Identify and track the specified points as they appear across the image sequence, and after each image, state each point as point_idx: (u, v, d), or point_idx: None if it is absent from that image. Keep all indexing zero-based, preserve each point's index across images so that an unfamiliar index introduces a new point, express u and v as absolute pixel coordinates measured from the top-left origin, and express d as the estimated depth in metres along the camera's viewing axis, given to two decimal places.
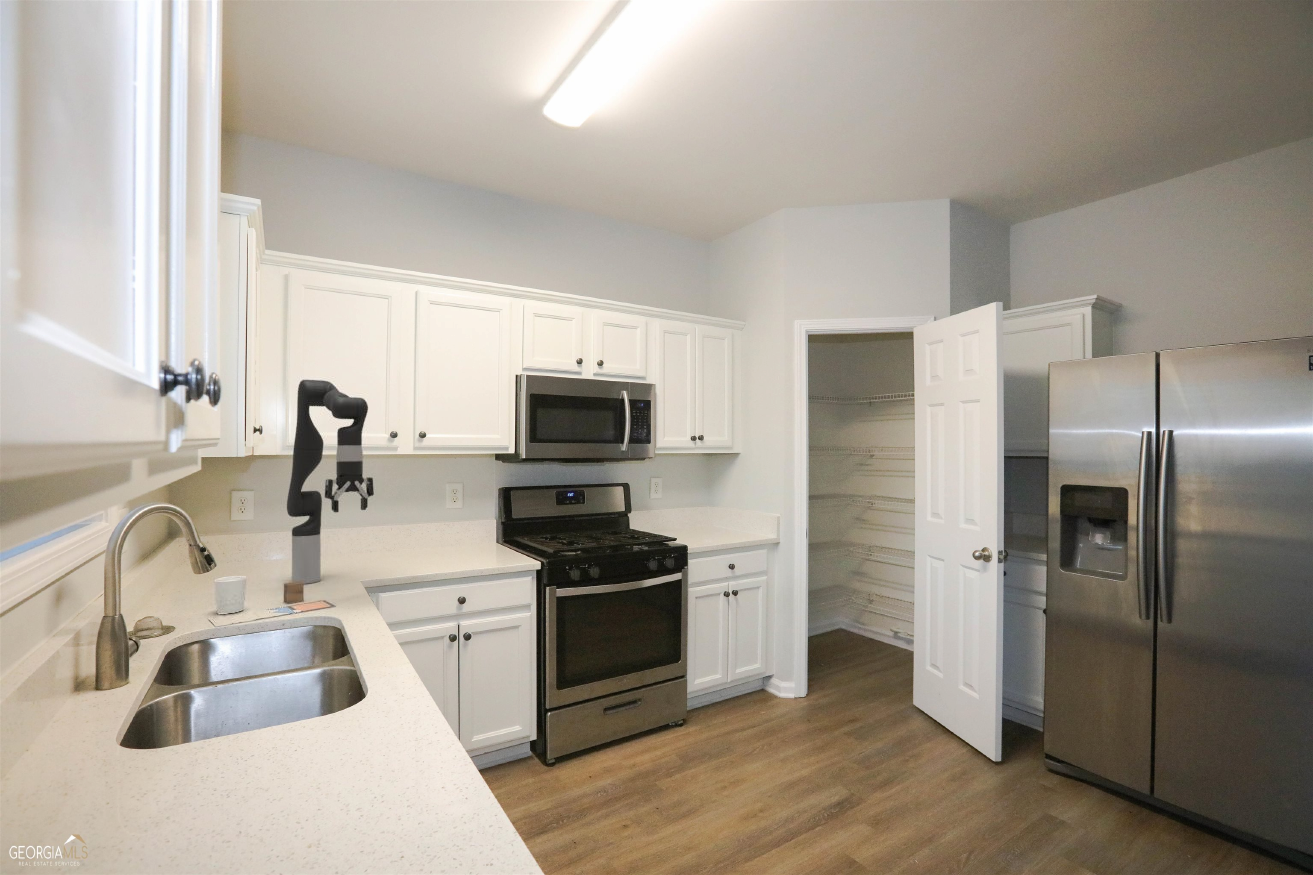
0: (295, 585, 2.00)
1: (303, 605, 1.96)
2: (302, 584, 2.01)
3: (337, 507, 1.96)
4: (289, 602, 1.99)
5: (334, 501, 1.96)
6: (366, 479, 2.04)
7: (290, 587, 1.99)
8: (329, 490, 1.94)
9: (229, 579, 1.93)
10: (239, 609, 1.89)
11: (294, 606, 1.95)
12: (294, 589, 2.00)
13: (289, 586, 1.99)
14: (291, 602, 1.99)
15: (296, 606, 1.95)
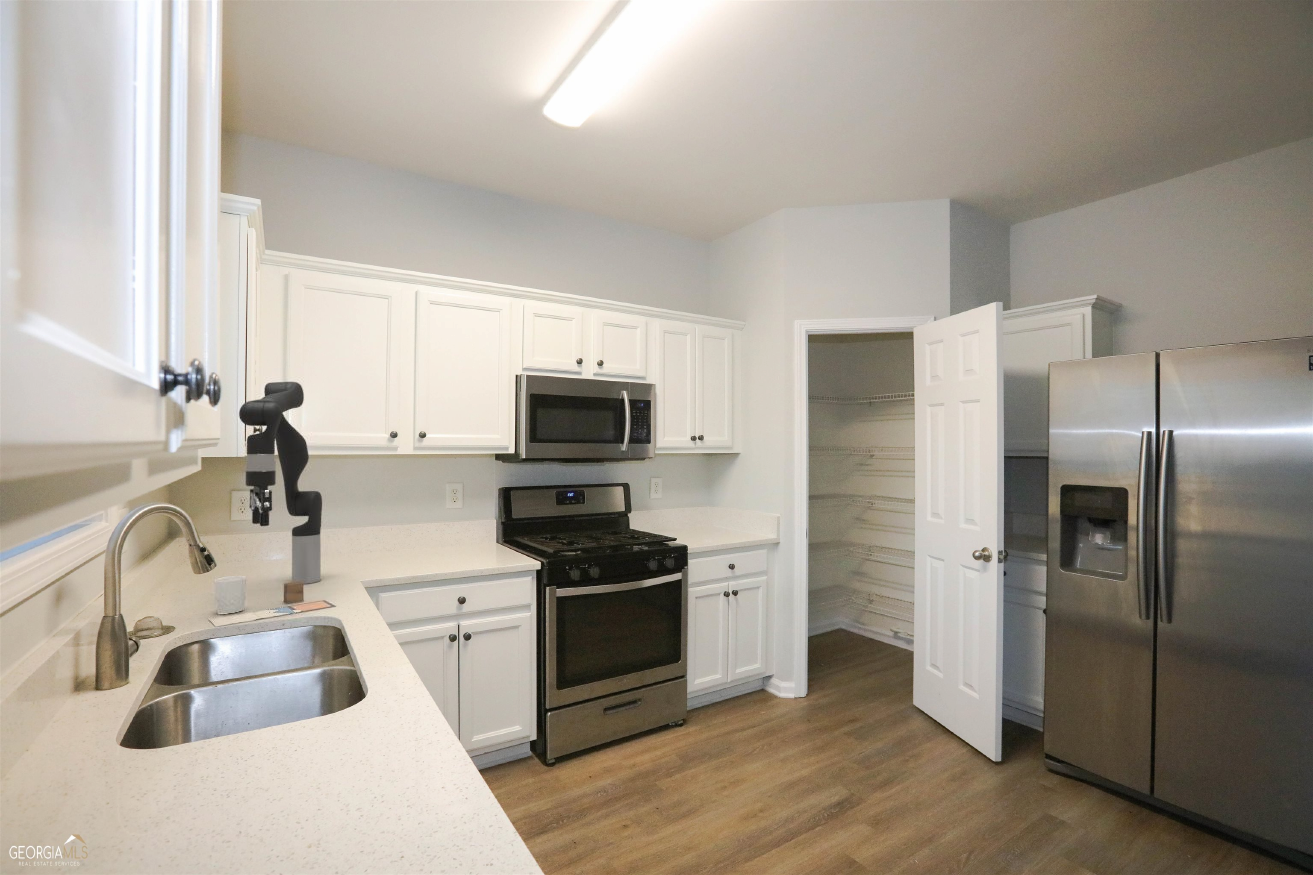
0: (295, 585, 2.00)
1: (303, 605, 1.96)
2: (302, 584, 2.01)
3: None
4: (289, 602, 1.99)
5: None
6: None
7: (290, 587, 1.99)
8: None
9: (229, 579, 1.93)
10: (239, 609, 1.89)
11: (294, 606, 1.95)
12: (294, 589, 2.00)
13: (289, 586, 1.99)
14: (291, 602, 1.99)
15: (296, 606, 1.95)
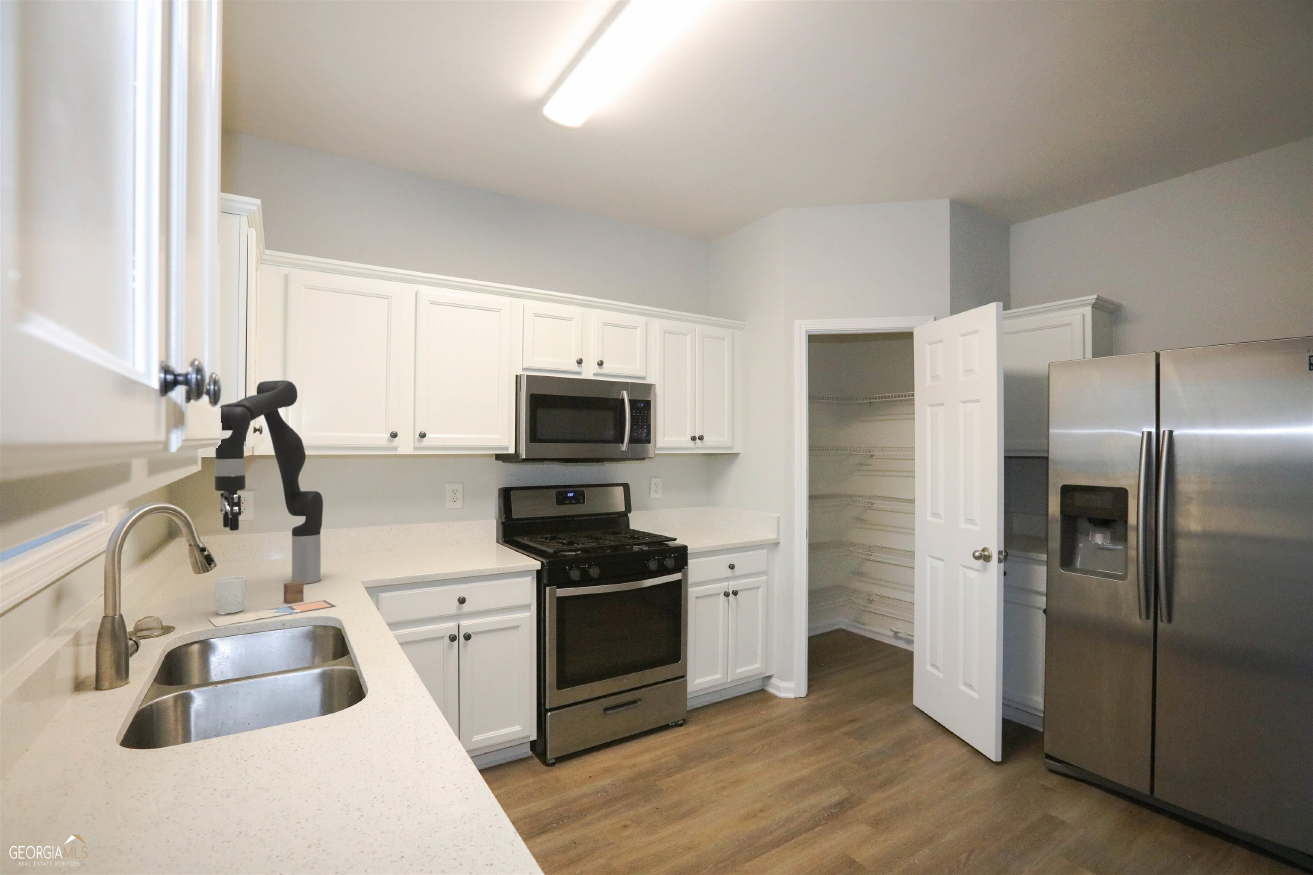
0: (295, 585, 2.00)
1: (303, 605, 1.96)
2: (302, 584, 2.01)
3: (238, 524, 1.85)
4: (289, 602, 1.99)
5: None
6: None
7: (290, 587, 1.99)
8: None
9: (229, 579, 1.93)
10: (239, 609, 1.89)
11: (294, 606, 1.95)
12: (294, 589, 2.00)
13: (289, 586, 1.99)
14: (291, 602, 1.99)
15: (296, 606, 1.95)
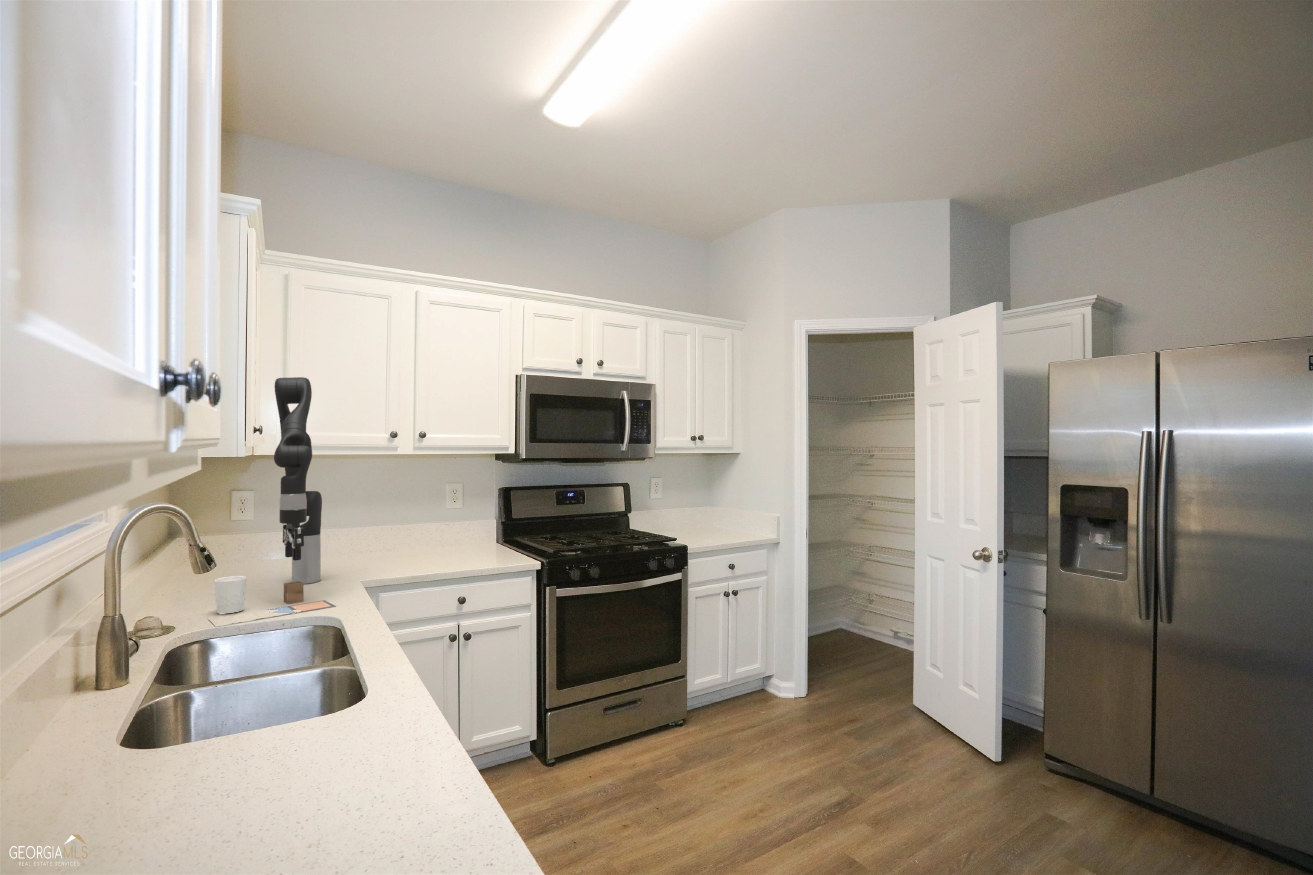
0: (295, 585, 2.00)
1: (303, 605, 1.96)
2: (302, 584, 2.01)
3: None
4: (289, 602, 1.99)
5: None
6: None
7: (290, 587, 1.99)
8: None
9: (229, 579, 1.93)
10: (239, 609, 1.89)
11: (294, 606, 1.95)
12: (294, 589, 2.00)
13: (289, 586, 1.99)
14: (291, 602, 1.99)
15: (296, 606, 1.95)
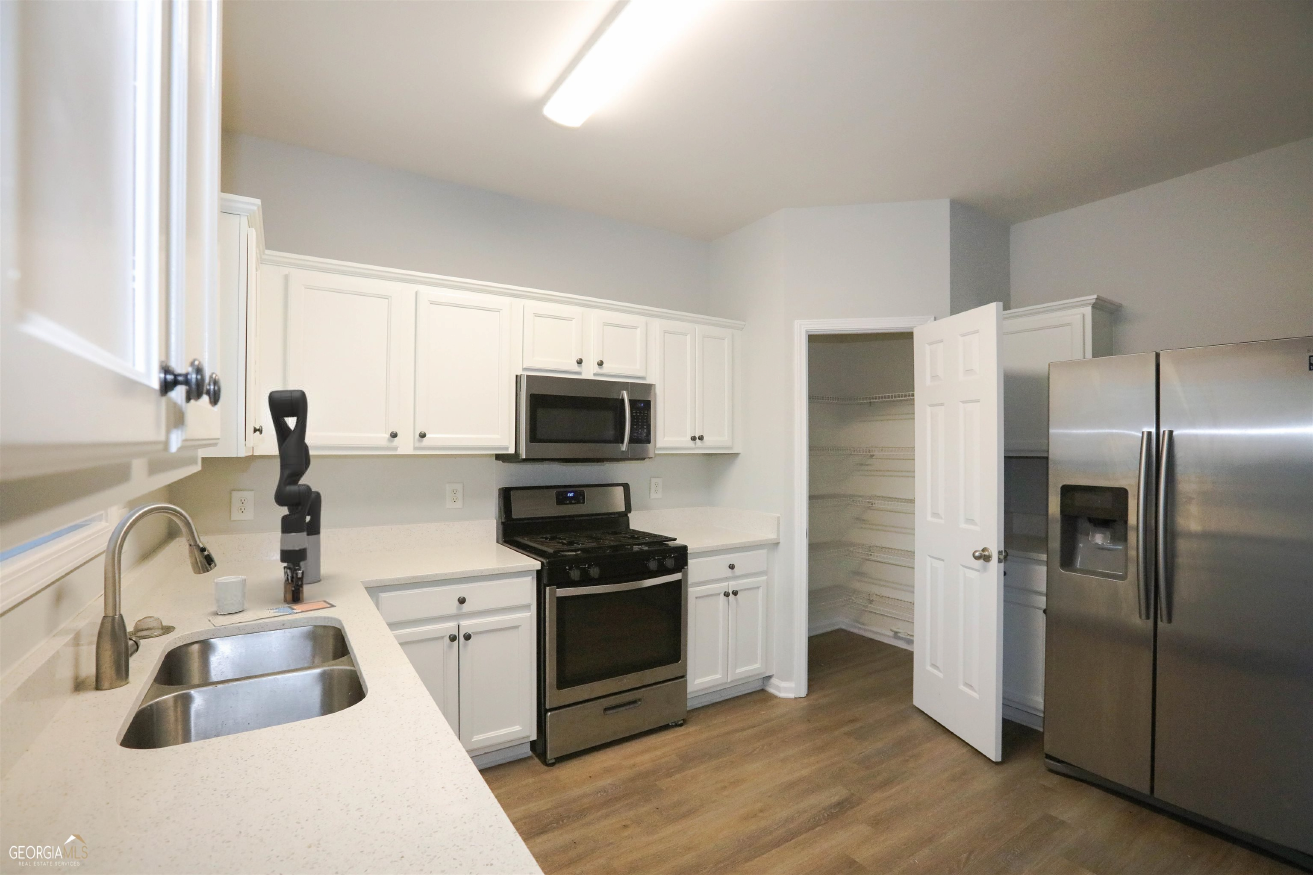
0: None
1: (303, 605, 1.96)
2: None
3: None
4: (289, 602, 1.99)
5: None
6: None
7: (290, 587, 1.99)
8: None
9: (229, 579, 1.93)
10: (239, 609, 1.89)
11: (294, 606, 1.95)
12: None
13: (289, 586, 1.99)
14: (291, 602, 1.99)
15: (296, 606, 1.95)
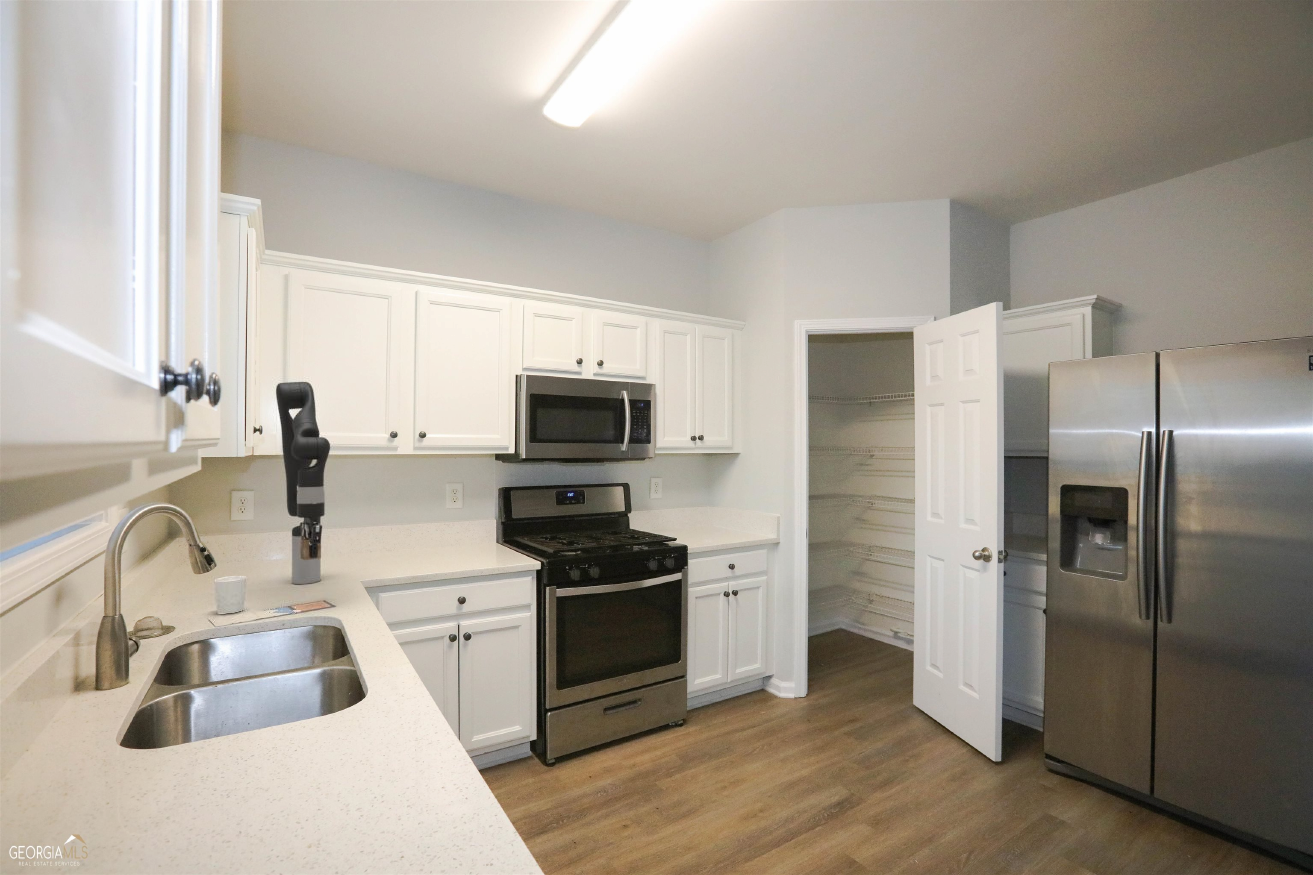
0: None
1: (303, 605, 1.96)
2: None
3: None
4: (306, 558, 1.93)
5: None
6: None
7: (307, 542, 1.93)
8: None
9: (229, 579, 1.93)
10: (239, 609, 1.89)
11: (294, 606, 1.95)
12: None
13: (306, 541, 1.93)
14: (308, 558, 1.93)
15: (296, 606, 1.95)
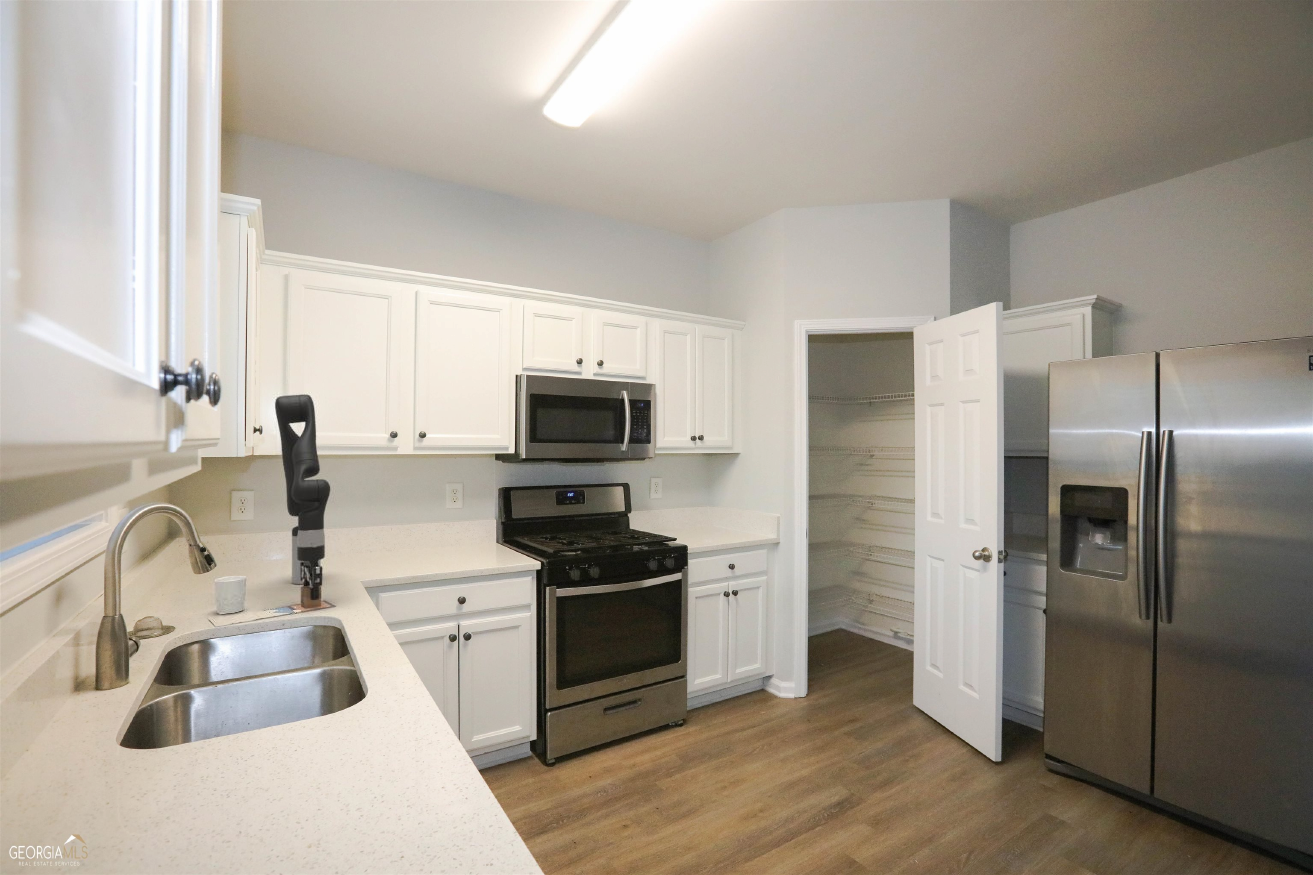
0: None
1: None
2: (320, 588, 1.95)
3: None
4: (307, 606, 1.92)
5: None
6: None
7: (308, 591, 1.93)
8: None
9: (229, 579, 1.93)
10: (239, 609, 1.89)
11: (294, 606, 1.95)
12: None
13: (307, 590, 1.92)
14: (309, 606, 1.93)
15: (296, 606, 1.95)
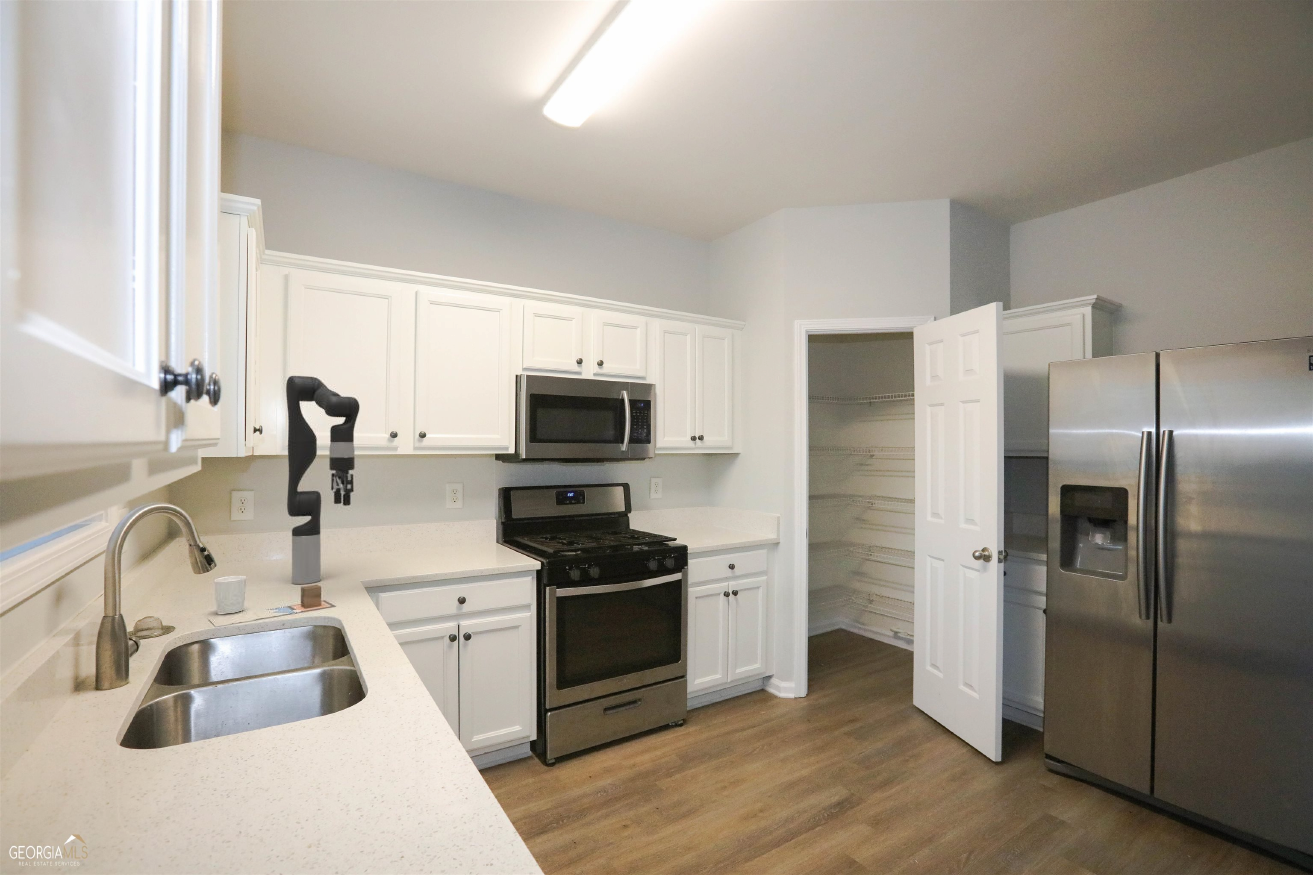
0: (313, 589, 1.94)
1: None
2: (320, 588, 1.95)
3: None
4: (307, 606, 1.92)
5: None
6: None
7: (308, 591, 1.93)
8: None
9: (229, 579, 1.93)
10: (239, 609, 1.89)
11: (294, 606, 1.95)
12: (312, 593, 1.93)
13: (307, 590, 1.92)
14: (309, 606, 1.93)
15: (296, 606, 1.95)
